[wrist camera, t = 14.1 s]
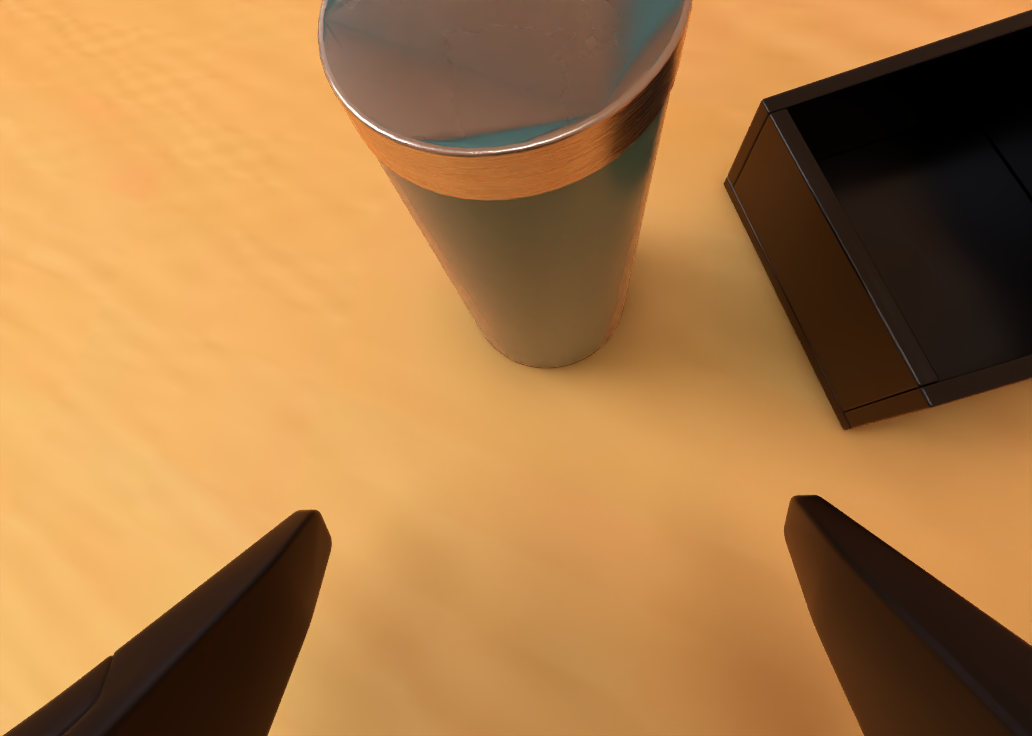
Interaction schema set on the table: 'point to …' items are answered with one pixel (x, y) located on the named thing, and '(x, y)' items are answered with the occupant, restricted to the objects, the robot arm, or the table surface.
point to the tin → (516, 146)
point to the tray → (902, 221)
